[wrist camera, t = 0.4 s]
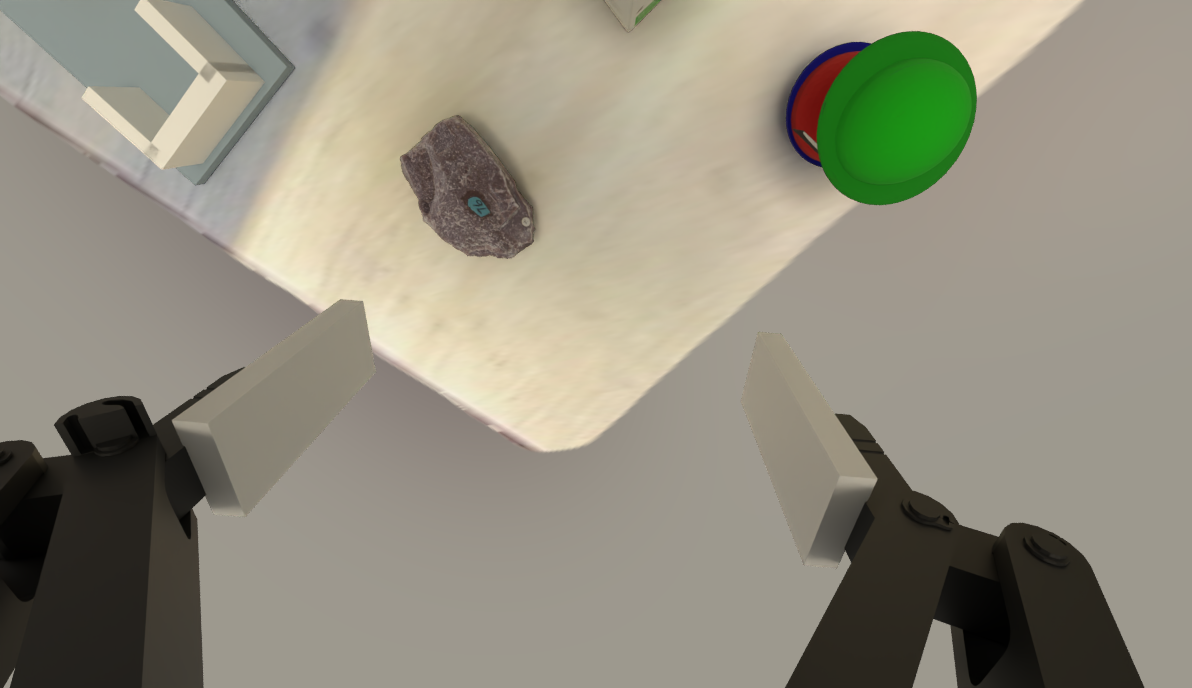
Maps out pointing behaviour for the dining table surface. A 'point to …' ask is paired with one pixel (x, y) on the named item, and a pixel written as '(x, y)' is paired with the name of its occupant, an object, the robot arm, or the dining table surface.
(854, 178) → the toy
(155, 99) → the pitch
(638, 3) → the skincare box
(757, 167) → the dining table surface
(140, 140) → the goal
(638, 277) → the dining table surface
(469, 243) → the rock
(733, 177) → the dining table surface
